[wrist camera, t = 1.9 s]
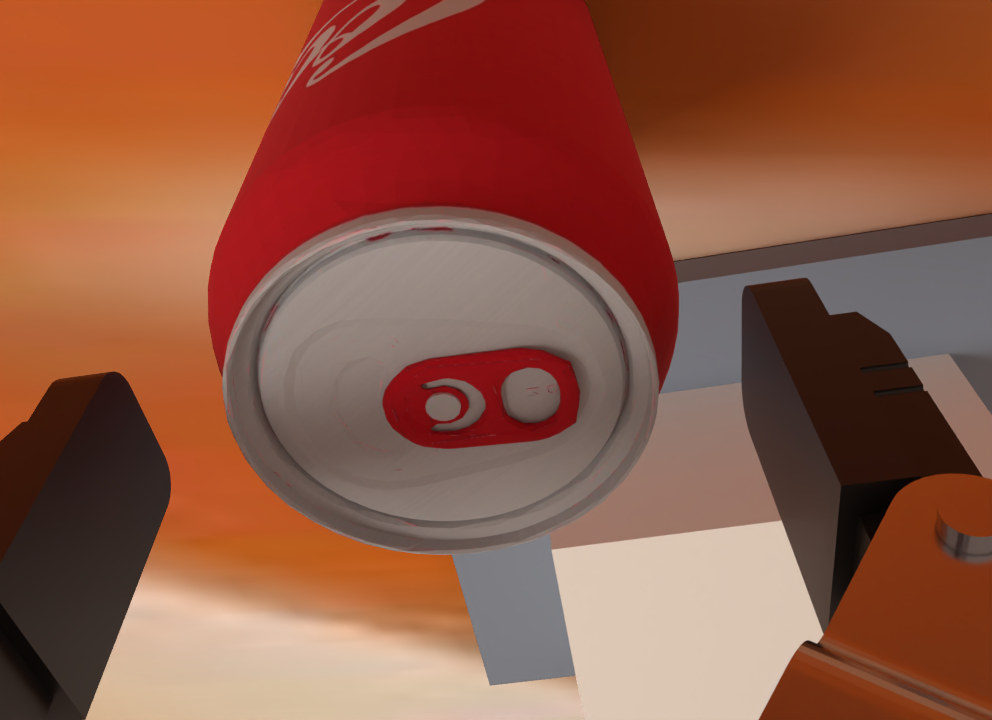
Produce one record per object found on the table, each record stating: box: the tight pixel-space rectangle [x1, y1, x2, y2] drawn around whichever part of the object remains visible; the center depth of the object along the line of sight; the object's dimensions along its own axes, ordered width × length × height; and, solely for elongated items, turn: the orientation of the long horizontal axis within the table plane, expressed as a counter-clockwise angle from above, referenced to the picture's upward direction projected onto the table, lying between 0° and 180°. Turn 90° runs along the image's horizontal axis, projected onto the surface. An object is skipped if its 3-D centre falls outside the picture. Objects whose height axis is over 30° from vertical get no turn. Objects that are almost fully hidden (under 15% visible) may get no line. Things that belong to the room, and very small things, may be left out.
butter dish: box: [452, 214, 992, 720], centre depth 26 cm, size 16×16×6 cm
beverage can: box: [208, 0, 679, 555], centre depth 16 cm, size 6×6×12 cm
